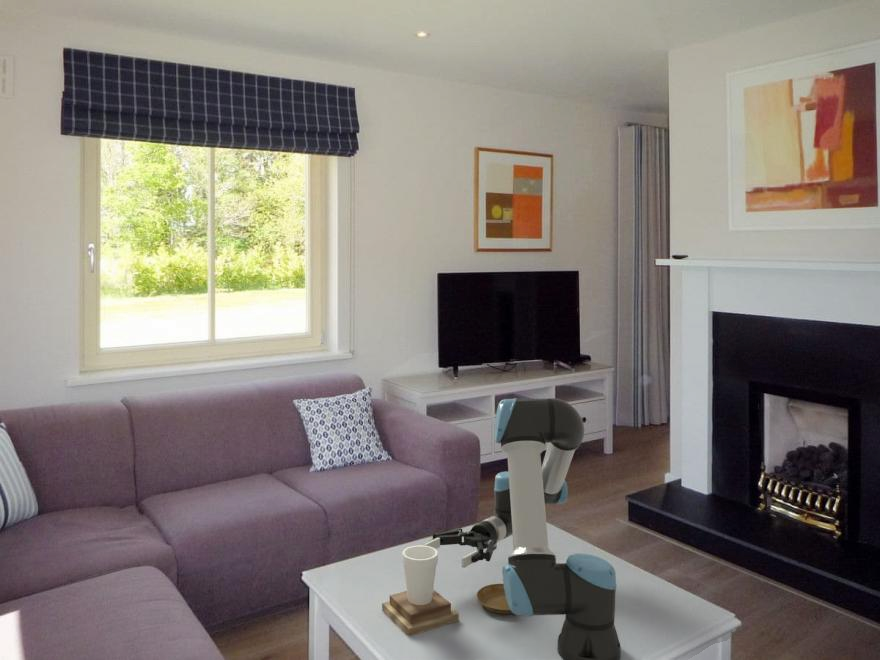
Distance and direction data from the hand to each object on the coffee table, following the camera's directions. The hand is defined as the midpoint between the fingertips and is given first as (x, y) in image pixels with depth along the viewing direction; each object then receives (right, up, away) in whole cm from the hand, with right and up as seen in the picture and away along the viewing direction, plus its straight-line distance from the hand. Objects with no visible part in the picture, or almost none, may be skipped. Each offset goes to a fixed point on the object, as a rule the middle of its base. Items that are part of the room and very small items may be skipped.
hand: (443, 556), depth 200 cm
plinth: (-6, -14, -6) cm, 16 cm away
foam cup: (-6, -10, -6) cm, 13 cm away
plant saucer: (+17, -14, +1) cm, 22 cm away
